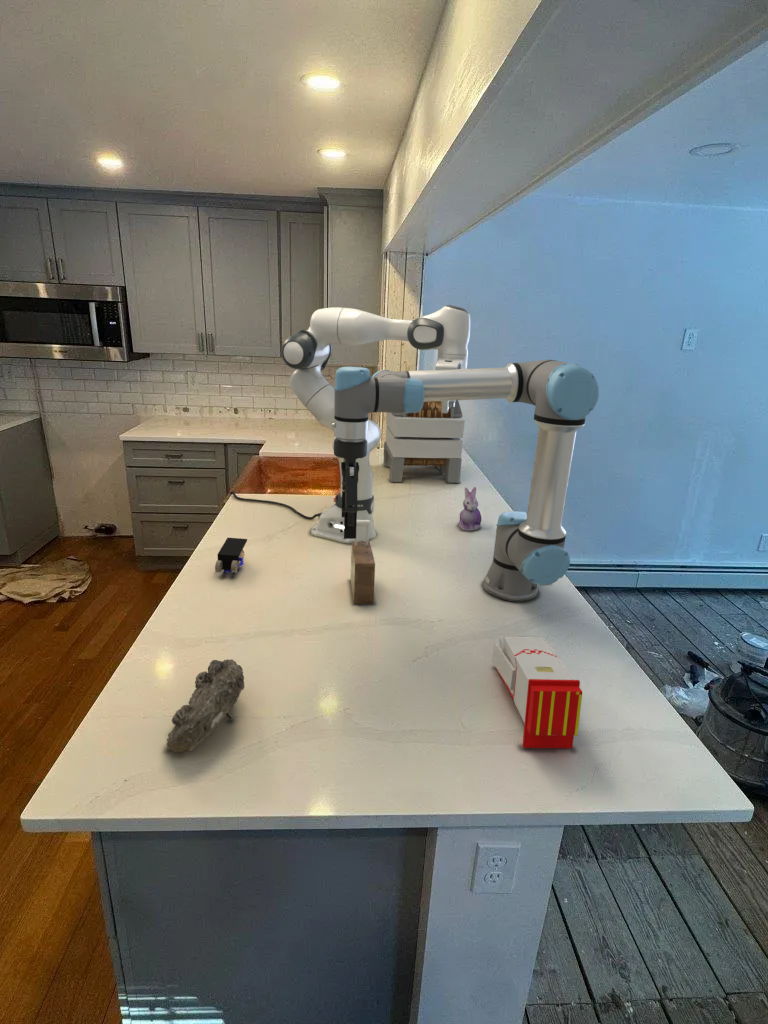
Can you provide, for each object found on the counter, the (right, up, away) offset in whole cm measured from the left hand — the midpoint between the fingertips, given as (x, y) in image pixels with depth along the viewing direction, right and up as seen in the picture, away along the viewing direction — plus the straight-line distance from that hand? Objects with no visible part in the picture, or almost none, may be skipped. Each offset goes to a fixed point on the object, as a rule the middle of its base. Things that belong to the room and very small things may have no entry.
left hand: (447, 410), depth 173 cm
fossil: (-52, -70, -65) cm, 109 cm away
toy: (+10, -70, -56) cm, 90 cm away
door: (-25, -43, -18) cm, 53 cm away
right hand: (-28, -35, -39) cm, 59 cm away
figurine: (+12, -37, +36) cm, 53 cm away
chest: (-26, -53, -15) cm, 61 cm away
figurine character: (-64, -48, -5) cm, 81 cm away
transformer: (-2, -12, +102) cm, 103 cm away
